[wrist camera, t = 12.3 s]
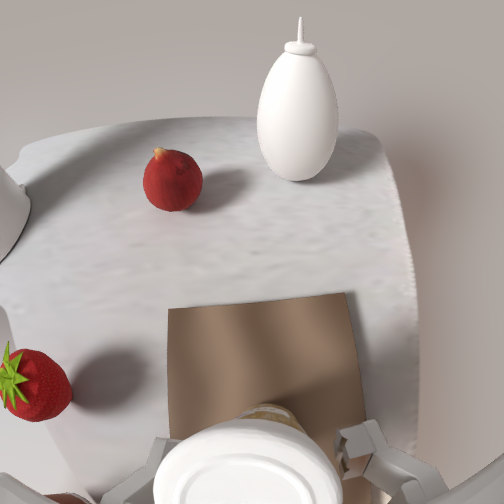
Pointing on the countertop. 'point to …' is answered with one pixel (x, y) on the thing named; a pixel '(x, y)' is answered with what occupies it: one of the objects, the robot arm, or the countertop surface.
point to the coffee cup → (68, 498)
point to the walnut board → (268, 369)
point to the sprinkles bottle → (249, 464)
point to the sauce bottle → (297, 113)
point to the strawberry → (33, 385)
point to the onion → (172, 180)
